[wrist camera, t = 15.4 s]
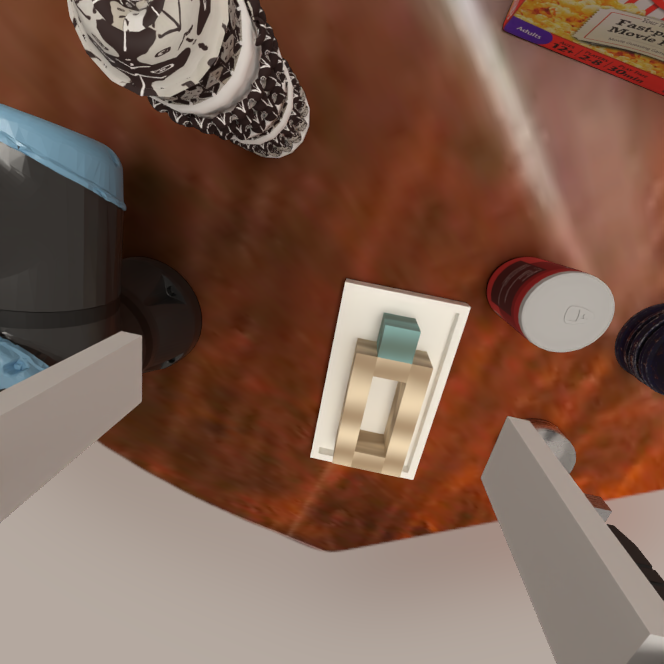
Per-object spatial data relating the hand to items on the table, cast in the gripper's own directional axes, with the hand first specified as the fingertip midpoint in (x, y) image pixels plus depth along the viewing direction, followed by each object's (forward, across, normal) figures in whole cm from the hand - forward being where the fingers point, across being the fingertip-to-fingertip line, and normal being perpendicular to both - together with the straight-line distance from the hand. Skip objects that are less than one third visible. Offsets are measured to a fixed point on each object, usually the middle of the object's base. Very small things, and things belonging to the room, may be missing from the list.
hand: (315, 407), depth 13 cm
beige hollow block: (+32, +7, -15) cm, 36 cm away
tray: (+33, +7, -15) cm, 37 cm away
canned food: (+33, +20, +1) cm, 38 cm away
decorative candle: (+33, -12, +14) cm, 38 cm away
